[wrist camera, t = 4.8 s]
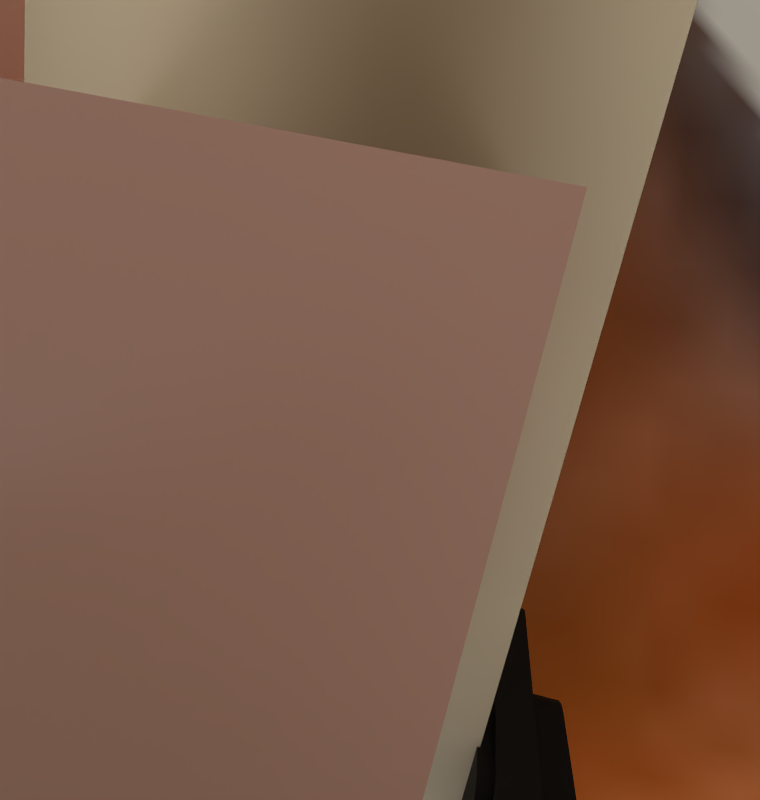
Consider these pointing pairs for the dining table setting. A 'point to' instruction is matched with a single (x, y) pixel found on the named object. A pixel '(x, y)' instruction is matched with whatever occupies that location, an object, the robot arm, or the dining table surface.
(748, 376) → the dining table surface
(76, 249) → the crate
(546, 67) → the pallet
